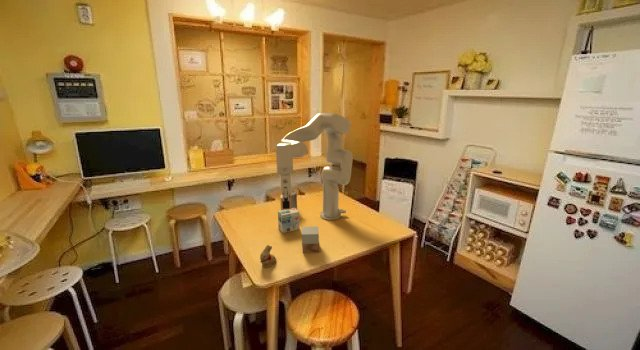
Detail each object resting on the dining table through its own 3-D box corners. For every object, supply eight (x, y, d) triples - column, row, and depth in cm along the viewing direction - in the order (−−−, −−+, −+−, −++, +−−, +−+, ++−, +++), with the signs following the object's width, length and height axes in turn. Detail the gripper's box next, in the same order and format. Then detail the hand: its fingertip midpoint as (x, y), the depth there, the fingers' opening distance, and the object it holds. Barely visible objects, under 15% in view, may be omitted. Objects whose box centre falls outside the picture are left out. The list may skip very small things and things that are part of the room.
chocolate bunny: (258, 262, 129) (257, 243, 126) (275, 258, 132) (274, 239, 129) (261, 269, 124) (260, 249, 121) (279, 265, 127) (278, 245, 125)
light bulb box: (282, 233, 156) (281, 215, 153) (278, 228, 161) (277, 210, 158) (300, 229, 160) (299, 211, 157) (295, 224, 166) (295, 207, 163)
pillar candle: (290, 208, 189) (289, 186, 184) (300, 212, 182) (299, 190, 178) (278, 212, 182) (277, 190, 178) (288, 217, 176) (287, 194, 171)
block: (291, 205, 141) (290, 194, 140) (291, 209, 137) (291, 197, 135) (281, 205, 141) (280, 194, 139) (280, 209, 136) (280, 198, 134)
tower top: (317, 235, 144) (318, 226, 142) (318, 243, 136) (318, 234, 135) (302, 235, 143) (301, 226, 142) (301, 244, 136) (301, 234, 134)
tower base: (317, 243, 145) (317, 235, 144) (319, 252, 138) (319, 243, 136) (301, 244, 145) (301, 236, 143) (302, 253, 137) (302, 244, 136)
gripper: (293, 175, 126) (294, 213, 131) (292, 165, 142) (293, 199, 147) (276, 175, 125) (277, 213, 130) (277, 165, 141) (278, 199, 146)
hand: (286, 205), depth 138 cm, fingers closed on block, 5 cm apart
